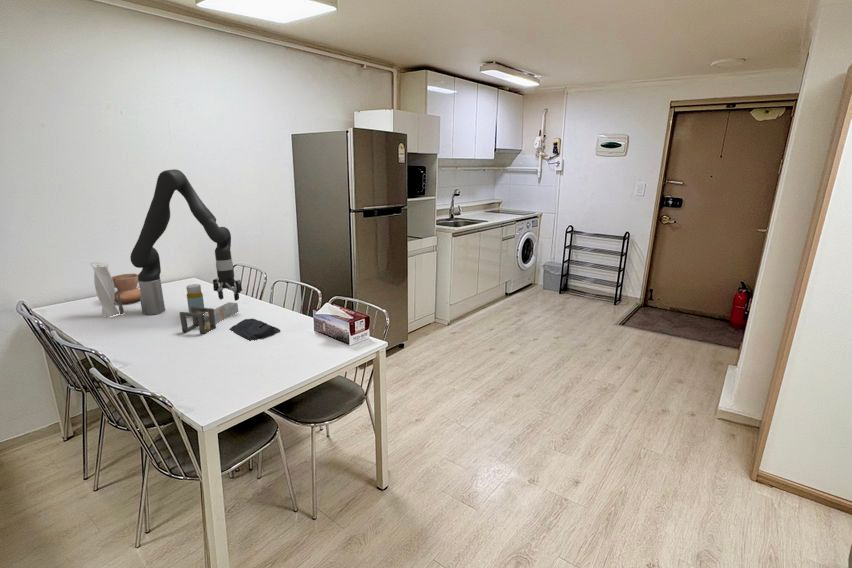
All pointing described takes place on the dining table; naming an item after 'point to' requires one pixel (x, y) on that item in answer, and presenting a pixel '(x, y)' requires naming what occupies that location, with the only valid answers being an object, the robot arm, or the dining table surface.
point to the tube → (222, 312)
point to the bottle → (195, 297)
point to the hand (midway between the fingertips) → (229, 299)
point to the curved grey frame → (198, 320)
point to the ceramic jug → (127, 287)
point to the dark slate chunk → (254, 329)
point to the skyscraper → (106, 290)
